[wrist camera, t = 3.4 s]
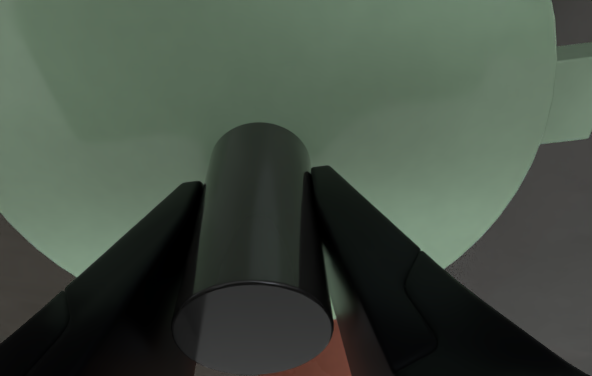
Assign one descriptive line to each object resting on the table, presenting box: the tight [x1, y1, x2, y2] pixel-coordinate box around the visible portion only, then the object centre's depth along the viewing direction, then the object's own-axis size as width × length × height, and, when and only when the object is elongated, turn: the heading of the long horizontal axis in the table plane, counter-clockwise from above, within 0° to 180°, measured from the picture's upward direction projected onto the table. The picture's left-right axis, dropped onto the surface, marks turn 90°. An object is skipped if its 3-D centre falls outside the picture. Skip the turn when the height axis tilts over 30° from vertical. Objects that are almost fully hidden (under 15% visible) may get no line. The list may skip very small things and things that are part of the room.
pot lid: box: [0, 0, 557, 375], centre depth 8 cm, size 14×14×6 cm
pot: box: [540, 42, 592, 144], centre depth 12 cm, size 13×18×5 cm
